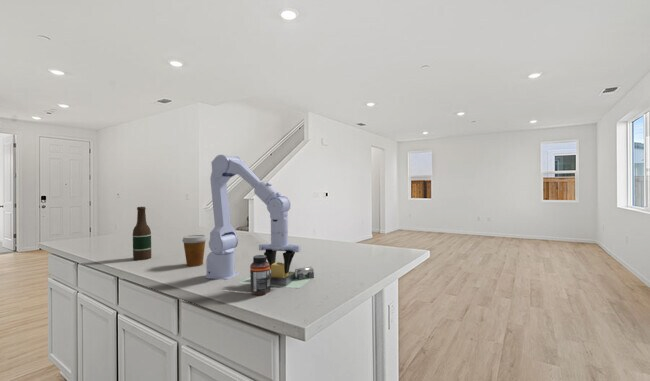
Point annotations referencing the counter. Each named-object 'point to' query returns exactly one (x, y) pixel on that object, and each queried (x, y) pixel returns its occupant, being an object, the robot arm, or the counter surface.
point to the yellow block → (278, 270)
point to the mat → (293, 284)
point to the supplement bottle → (260, 275)
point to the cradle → (283, 279)
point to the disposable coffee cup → (194, 249)
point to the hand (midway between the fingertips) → (279, 272)
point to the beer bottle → (141, 237)
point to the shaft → (304, 273)
